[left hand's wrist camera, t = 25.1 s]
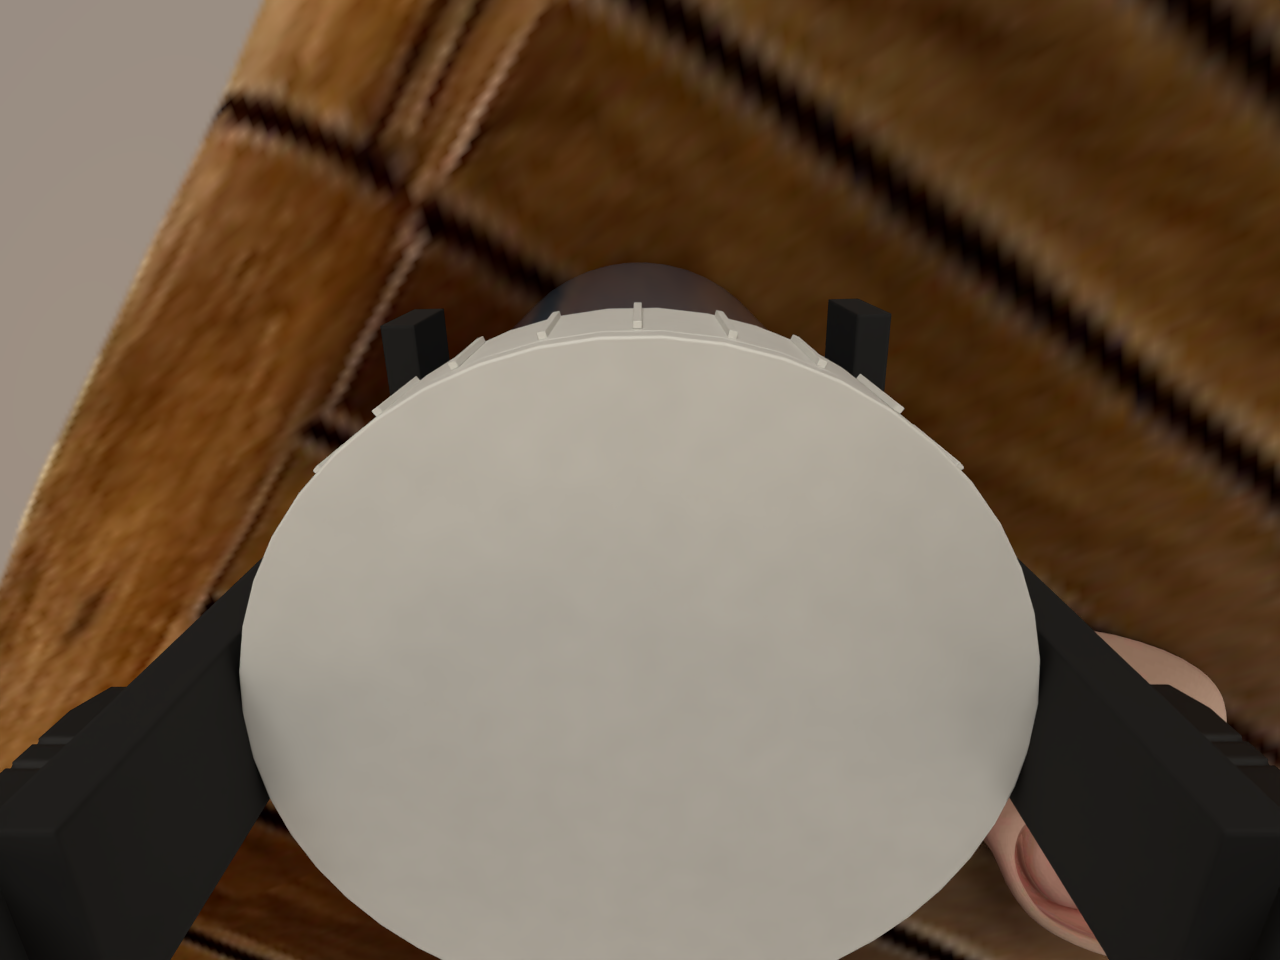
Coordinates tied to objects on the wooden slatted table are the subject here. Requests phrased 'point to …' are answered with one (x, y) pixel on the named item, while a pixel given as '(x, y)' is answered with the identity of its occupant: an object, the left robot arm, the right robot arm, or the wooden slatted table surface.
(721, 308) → the jar
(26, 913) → the left robot arm
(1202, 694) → the anatomical model
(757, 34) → the wooden slatted table surface
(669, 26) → the wooden slatted table surface
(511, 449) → the lid
